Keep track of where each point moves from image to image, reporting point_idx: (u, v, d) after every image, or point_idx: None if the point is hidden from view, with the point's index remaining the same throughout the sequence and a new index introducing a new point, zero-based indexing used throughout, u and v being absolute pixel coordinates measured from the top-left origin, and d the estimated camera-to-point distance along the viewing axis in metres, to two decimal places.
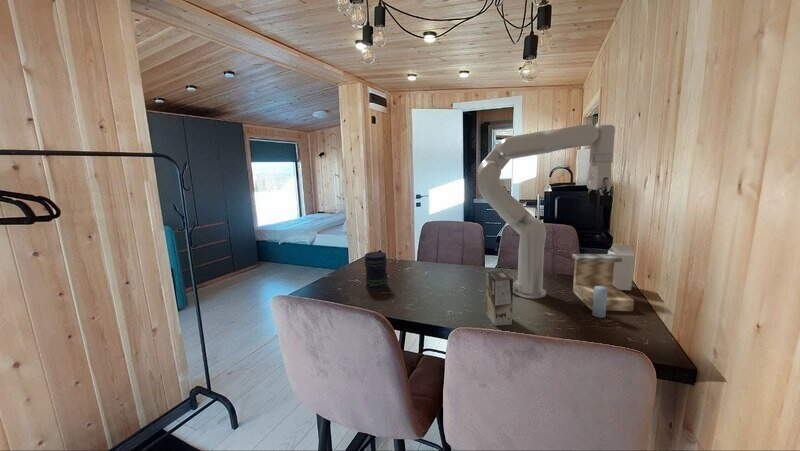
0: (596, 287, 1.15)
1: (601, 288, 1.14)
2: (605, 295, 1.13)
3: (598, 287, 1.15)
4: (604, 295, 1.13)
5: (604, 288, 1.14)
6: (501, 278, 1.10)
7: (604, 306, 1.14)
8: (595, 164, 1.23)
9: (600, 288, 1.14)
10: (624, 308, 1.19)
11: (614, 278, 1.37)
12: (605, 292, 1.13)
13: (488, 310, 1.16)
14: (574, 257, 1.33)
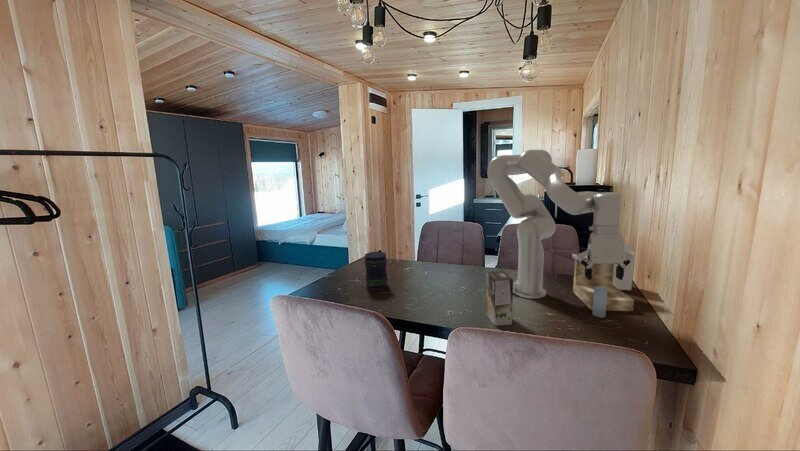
0: (596, 287, 1.15)
1: (601, 288, 1.14)
2: (605, 295, 1.13)
3: (598, 287, 1.15)
4: (603, 295, 1.13)
5: (604, 288, 1.14)
6: (501, 278, 1.10)
7: (604, 306, 1.14)
8: (615, 236, 1.08)
9: (600, 288, 1.14)
10: (624, 308, 1.19)
11: (614, 278, 1.37)
12: (605, 292, 1.13)
13: (488, 310, 1.16)
14: (574, 257, 1.33)
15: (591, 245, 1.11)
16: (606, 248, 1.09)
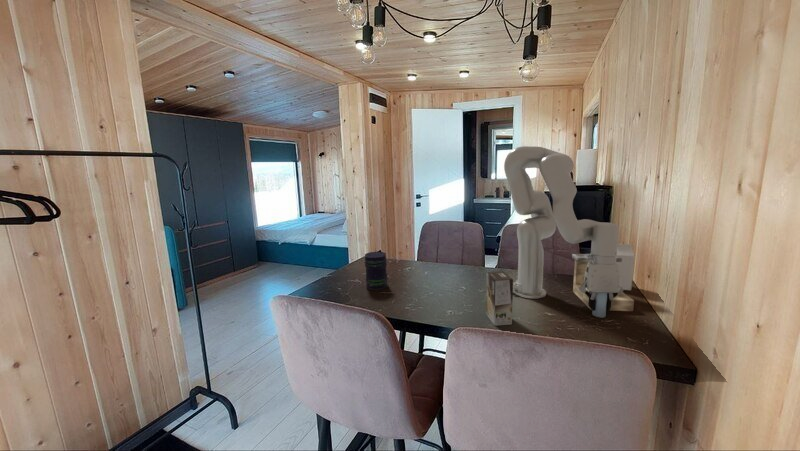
0: None
1: None
2: (605, 295, 1.13)
3: None
4: (604, 295, 1.13)
5: None
6: (501, 278, 1.10)
7: (604, 306, 1.14)
8: (612, 266, 1.10)
9: None
10: (624, 308, 1.19)
11: None
12: None
13: (488, 310, 1.16)
14: (574, 257, 1.33)
15: (588, 274, 1.13)
16: (603, 277, 1.11)
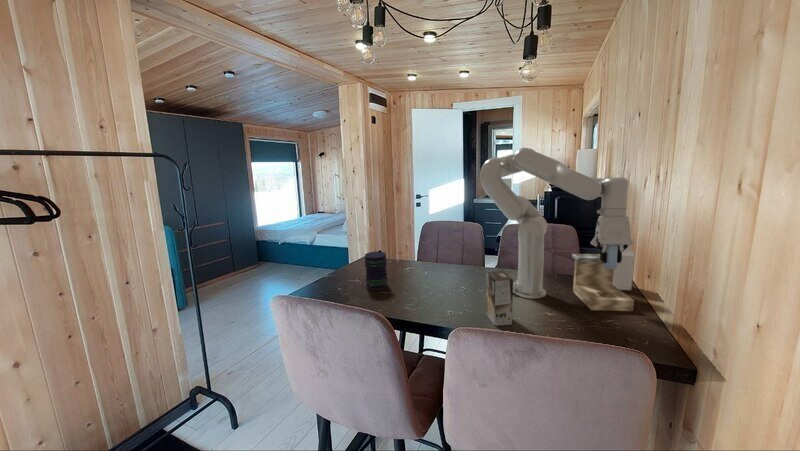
0: None
1: None
2: (616, 247, 1.18)
3: None
4: (614, 247, 1.18)
5: None
6: (501, 278, 1.10)
7: (615, 258, 1.19)
8: (622, 218, 1.15)
9: None
10: (624, 308, 1.19)
11: (614, 278, 1.37)
12: None
13: (488, 310, 1.16)
14: (574, 257, 1.33)
15: (599, 227, 1.18)
16: (613, 230, 1.16)
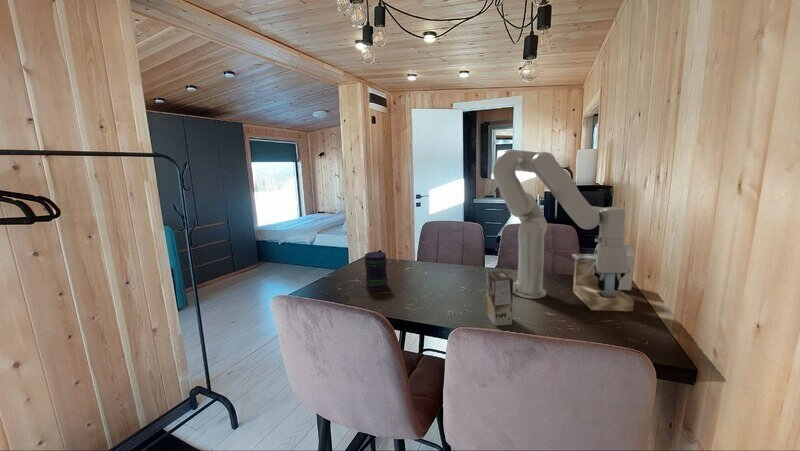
0: None
1: None
2: (613, 275, 1.20)
3: None
4: (612, 276, 1.20)
5: None
6: (501, 278, 1.10)
7: (612, 286, 1.21)
8: (619, 248, 1.17)
9: None
10: (624, 308, 1.19)
11: None
12: (614, 273, 1.20)
13: (488, 310, 1.16)
14: (574, 257, 1.33)
15: (597, 255, 1.20)
16: (611, 259, 1.18)
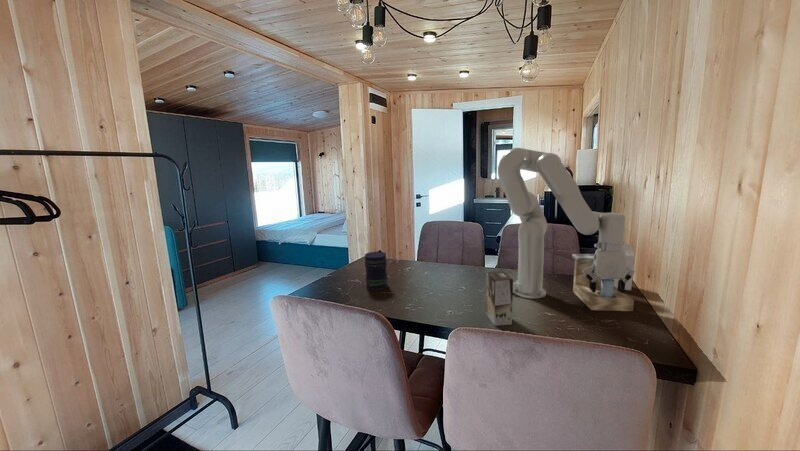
0: (603, 279, 1.23)
1: (608, 280, 1.22)
2: (612, 286, 1.21)
3: (605, 279, 1.23)
4: (610, 286, 1.21)
5: (611, 280, 1.22)
6: (501, 278, 1.10)
7: (611, 296, 1.22)
8: (619, 253, 1.18)
9: (607, 279, 1.22)
10: (624, 308, 1.19)
11: None
12: (612, 283, 1.21)
13: (488, 310, 1.16)
14: (574, 257, 1.33)
15: (596, 261, 1.21)
16: (610, 264, 1.19)
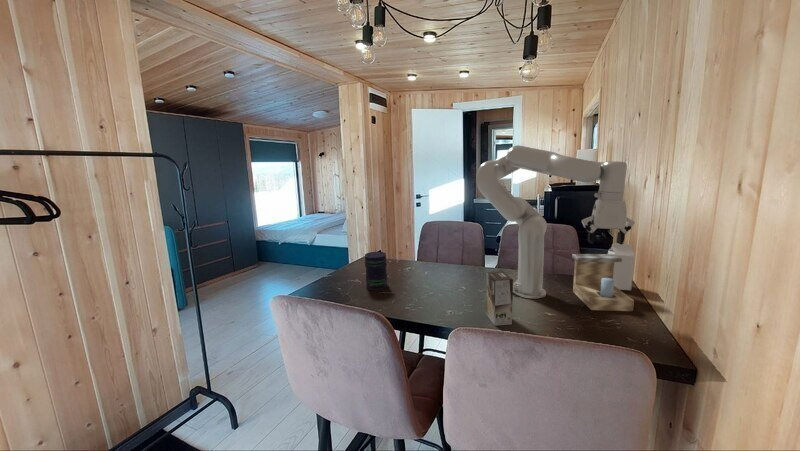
0: (603, 279, 1.23)
1: (608, 280, 1.22)
2: (612, 286, 1.21)
3: (605, 278, 1.23)
4: (610, 286, 1.21)
5: (611, 279, 1.22)
6: (501, 278, 1.10)
7: (611, 296, 1.22)
8: (619, 202, 1.15)
9: (607, 279, 1.22)
10: (624, 308, 1.19)
11: (614, 278, 1.37)
12: (612, 283, 1.21)
13: (488, 310, 1.16)
14: (574, 257, 1.33)
15: (595, 211, 1.18)
16: (609, 213, 1.16)
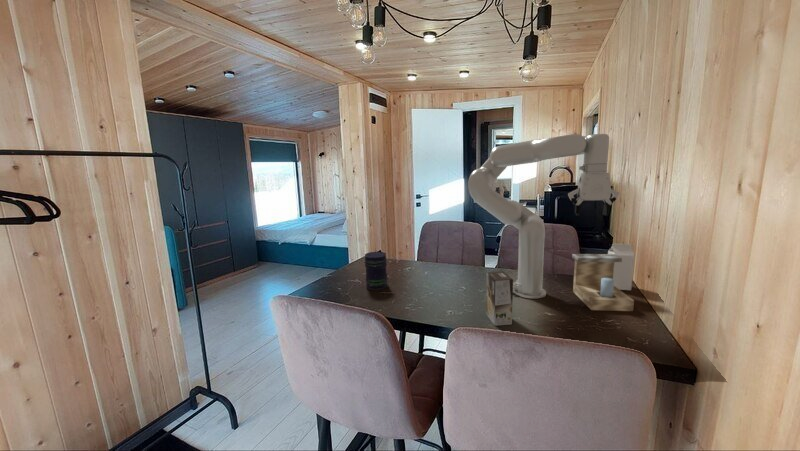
0: (603, 279, 1.23)
1: (607, 280, 1.22)
2: (611, 286, 1.21)
3: (605, 278, 1.23)
4: (610, 286, 1.21)
5: (610, 279, 1.22)
6: (501, 278, 1.10)
7: (611, 296, 1.22)
8: (603, 174, 1.18)
9: (607, 279, 1.22)
10: (624, 308, 1.19)
11: (614, 278, 1.37)
12: (612, 283, 1.21)
13: (488, 310, 1.16)
14: (574, 257, 1.33)
15: (581, 183, 1.21)
16: (594, 185, 1.19)
